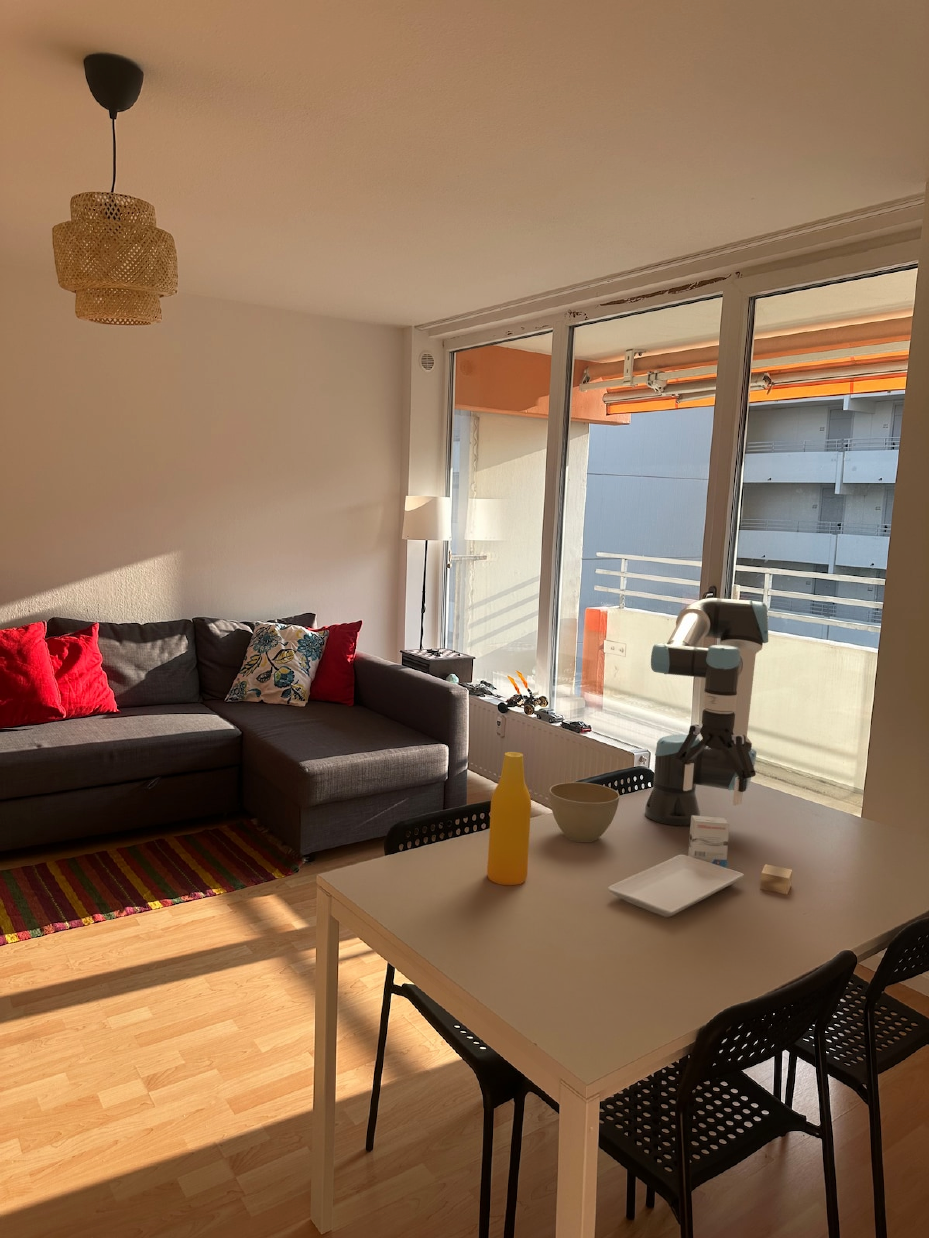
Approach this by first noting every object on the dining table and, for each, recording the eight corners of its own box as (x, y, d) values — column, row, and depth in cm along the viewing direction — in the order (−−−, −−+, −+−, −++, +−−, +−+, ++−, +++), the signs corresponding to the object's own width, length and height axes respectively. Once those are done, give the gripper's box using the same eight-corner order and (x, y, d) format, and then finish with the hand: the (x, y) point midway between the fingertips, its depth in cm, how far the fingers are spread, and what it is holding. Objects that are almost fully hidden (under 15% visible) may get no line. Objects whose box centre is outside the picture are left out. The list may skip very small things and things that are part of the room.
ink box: (722, 863, 219) (726, 817, 217) (726, 871, 214) (730, 823, 212) (686, 860, 219) (690, 814, 218) (690, 868, 215) (693, 820, 213)
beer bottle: (535, 878, 204) (542, 755, 200) (509, 889, 197) (516, 762, 194) (504, 866, 210) (511, 746, 207) (478, 876, 203) (484, 753, 200)
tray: (604, 900, 194) (605, 885, 194) (680, 865, 217) (681, 852, 216) (671, 928, 183) (672, 912, 182) (744, 888, 205) (746, 873, 204)
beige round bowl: (626, 835, 235) (630, 790, 234) (599, 855, 220) (602, 807, 219) (565, 820, 245) (568, 777, 243) (534, 838, 229) (537, 792, 228)
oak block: (759, 889, 204) (761, 872, 204) (763, 880, 210) (765, 864, 209) (787, 895, 202) (788, 878, 201) (790, 886, 207) (792, 869, 207)
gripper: (665, 702, 219) (659, 786, 221) (759, 722, 201) (751, 813, 203) (683, 699, 224) (676, 781, 226) (775, 718, 206) (767, 807, 208)
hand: (711, 796), depth 214 cm, fingers open, 13 cm apart
